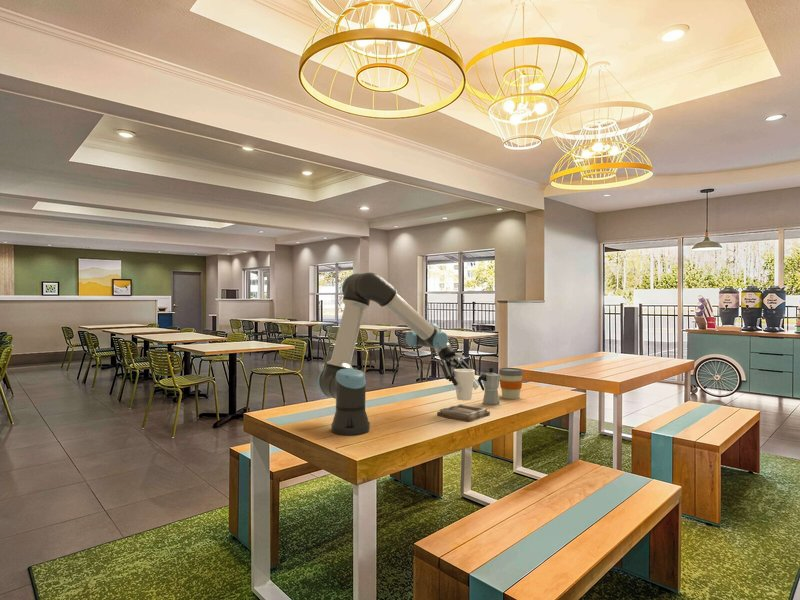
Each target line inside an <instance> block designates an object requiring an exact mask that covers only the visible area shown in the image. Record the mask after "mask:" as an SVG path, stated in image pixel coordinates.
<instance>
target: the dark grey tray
mask: <svg viewBox="0 0 800 600" xmlns="http://www.w3.org/2000/svg"><path fill="white" fill-rule="evenodd" d="M490 415H491V411H489V410H488V409H487V408H484V407H479V406H473V405H467V404H462V403H459V404H455V405H451V406H446V407H443V408H441V409H440V410H439V411H437V413H436V416H438V417H442V418H448V419H453V420H458V421H463V422H468V423H470V422H473V421H476V420H479V419H481V418H485V417H487V416H490Z"/></svg>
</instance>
